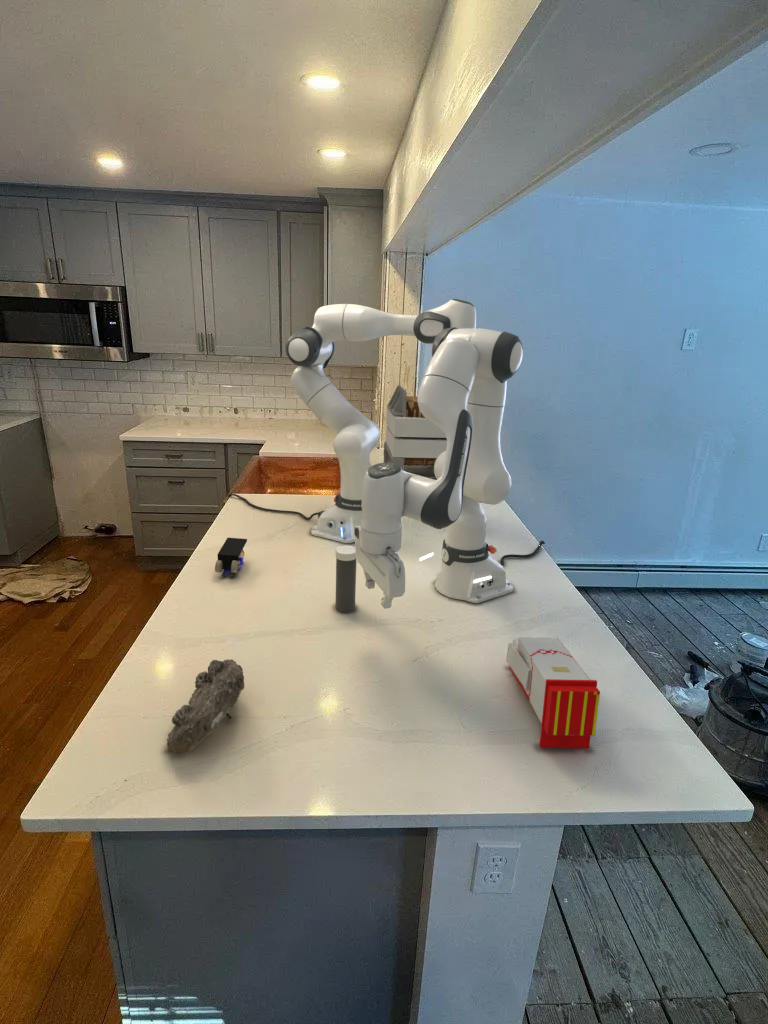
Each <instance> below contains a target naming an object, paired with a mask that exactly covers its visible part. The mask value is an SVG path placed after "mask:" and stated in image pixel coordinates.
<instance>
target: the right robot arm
mask: <svg viewBox="0 0 768 1024" xmlns="http://www.w3.org/2000/svg"><path fill="white" fill-rule="evenodd" d="M523 357H524V346H523V343H522V341H521V339H520V337H519V336H518V335H516V334H515V333H512V332H508V331H503V332H502V331H498V330H495V329H489V328H481V327H479V328H475V329H471V328H464V329H458V328H456V327H454V328H446V329H443V330H442V331H441V332H440V333H439V334H438V335H437V336H436V337H435V339H434V342H433V344H432V346H431V359H430V362H429V364H428V365H427V368H426V370H425V372H424V375H423V378H422V380H421V383H420V385H419V388H418V392H417V396H418V398H417V402H418V406H419V409H420V411H421V413H422V414H423V416H424V417H425V418H426V419H427V420H428V421H429V422H431V423H432V424H433V425H435V426H436V427H437V428H439V429H440V430H442V431H443V432H444V433H445V435H446V437H447V448H446V451H445V452H443V453H441V454H440V455H439V456H438V458H437V460H436V462H435V465H434V466H433V473H434V476H435V478H436V479H434V478H430V477H427V476H422V475H420V474H416V473H412V472H409V471H405V470H404V469H403V470H402V468H401V467H400V466H399V465H397V464H394V463H384V462H380V463H376V464H373V465H371V467H370V468H369V469H368V470H367V472H366V475H365V478H364V483H363V490H362V511H363V519H362V521H361V525H359V526H354V535H355V536H356V538H355V542H354V547H355V553H356V563H358V564H359V565H360V566H361V567H362V569H363V574H364V578H365V587H366V588H367V589H368V590H370V589H375V587H376V585H377V586H378V587H379V588H380V589H381V591H382V593H383V597H382V598H381V602H380V605H381V606H382V608H383V609H391V608H392V603H393V602H392V601H393V599H394V598H399V597H403V596H404V595H405V592H406V567H405V563H404V562H403V560H402V559H401V558H400V556H399V554H398V553H397V552H399V551H400V550H401V548H402V538H403V537H402V535H403V533H402V532H403V522H402V518H407V519H411V520H414V521H417V522H420V523H422V524H425V525H427V526H429V527H430V528H434V529H436V530H443V529H445V530H444V535H445V536H444V539H443V541H442V546H441V547H442V548H441V563H440V564H441V565H440V569H439V573H438V576H437V579H436V581H435V584H434V588H435V590H436V591H437V592H438V593H440V594H441V595H443V596H445V597H448V598H449V599H455V600H461V601H465V602H468V603H472V604H480V603H482V602H486V601H489V600H492V599H494V598H498V597H501V596H504V595H507V594H510V593H512V592H513V593H514V586H513V584H512V583H511V581H510V580H509V579H508V578H507V574H506V570H505V567H504V563H505V559H509V558H519V559H523V558H525V559H526V558H527V559H528V558H532V557H534V556H535V555H536V554H537V553H538V551H540V549H541V547H542V546H543V545H545V544H546V542H545V541H544V540H540V541H539V543H538V545H537V547H536V548H535V549H534V551H532V552H530V553H528V554H515V553H513V554H510V553H509V554H505V555H502V557H500V561H498V560H496V559H495V558H494V557H492V556H491V555H495V554H496V552H497V547H495V546H494V545H492V544H491V545H490V544H489V543H488V542H486V533H487V524H488V519H487V515H486V512H485V511H484V509H483V507H482V506H481V504H483V505H484V504H485V505H490V506H492V505H493V506H495V505H498V504H501V503H502V502H503V501H505V499H507V497H508V496H509V495H510V492H511V489H512V485H513V484H512V483H513V482H512V477H511V475H510V473H509V471H508V470H507V468H506V465H505V462H504V459H503V454H502V447H501V430H502V425H503V424H502V423H503V417H504V411H505V405H506V398H507V397H506V396H507V382H508V381H507V380H509V379H511V378H512V377H514V375H516V374H517V372H518V371H519V370H520V367H521V365H522V361H523ZM539 545H540V546H539ZM489 553H490V554H491V555H490V554H489ZM433 556H434V552H431V553H428V554H426V555H424V556H421V557H420V558H419V562H421V561H423V560H426V559H428V558H430V557H433Z"/></svg>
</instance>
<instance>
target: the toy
mask: <svg viewBox="0 0 768 1024" xmlns="http://www.w3.org/2000/svg"><path fill="white" fill-rule="evenodd" d="M505 659H506V660H505V661H506V663H507V664H508V666H509V667H508V669H510V671H511V673H512V674H513V676H514V678H515V680H516V681H517V683H518V685H519V686H520V688H521V689H522V691H523V693H524V694H525V696H526V698H527V700H529V703H530V705H531V707H532V708H533V711H534V712H535V715H536V716H537V718H538V720H539V722H540V725H541V726H540V736H539V744H538V746H539V748H540V749H590V746H591V736H592V737H595V735H596V731H597V730H596V729H597V722H598V721H597V720H598V714H599V713H598V712H599V703H600V697H601V691H600V690H599V688H598V680H596V679H591V678H590V677H589V675H588V674H587V673H586V672H585V670H584V669H583V668H582V667H581V665H580V664H579V663H578V661H577V660H576V659H575V657H574V656H573V655H572V653H570V650H569V649H568V648H567V647H566V645H564V643H563V642H562V641H561V639H560V638H559V637H548V636H547V637H546V636H545V637H543V636H518V638H517V637H515V638H512V643H511V642H508V646H507V653H506V658H505Z"/></svg>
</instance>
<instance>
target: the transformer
mask: <svg viewBox="0 0 768 1024" xmlns="http://www.w3.org/2000/svg"><path fill="white" fill-rule="evenodd" d="M407 394H408V393H407V390H406V389H404V388H403V387H402V385H399V384H398V385H397V386H396V388H395V390H394V392H393V394H392V395H391V398H390V400H389V402H388V404H387V405H386V413H385V414H386V415H385V423H386V428H385V438H384V442H383V463H394V464H397V465H399V466H400V467H401V468H402V470H403V471H404V469H405V466H406V467H407V466H411V467H412V466H413V467H415V466H416V467H417V466H418V467H434V465H435V462H436V460H437V458H438V456H439V455H440V454H441V453H443V452H445V451H446V448H447V437H446V435H445V433H444V432H443V431H442V430H440V429H439V428H437V427H436V426H435V425H433V424H432V423H431V422H429V421H428V420H427V419H426V418H425V417H424V416H423V414H422V413H421V411H420V409H419V406H418V402H417V398H418V395H417V396H415V395H414V396H413V395H412V396H411V395H407Z"/></svg>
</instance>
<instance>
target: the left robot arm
mask: <svg viewBox="0 0 768 1024" xmlns="http://www.w3.org/2000/svg"><path fill="white" fill-rule="evenodd" d="M454 327H456V328H458V329H464V328H471V329H477V328H476V327H477V309H476V306H475V305H474V304H473V303H472V302H470V301H467V300H463V299H458V298H451V299H450V300H448V301H447V302H445V303H444V304H441V305H439V306H437V307H435V308H431V309H427V310H424V311H422V312H421V313H419V314H399V313H391V312H386V311H383V310H380V309H377V308H374V307H370V306H366V305H361V304H355V303H335V304H327V305H322V306H320V307H318V308H317V309H316V311H315V313H314V317H313V325H312V326H310V325H306V326H305V327H303V328H301V329H299V330H298V331H295V333H293V334H292V335H291V336H290V337H289V338H288V339H287V340H286V344H285V354H286V357H287V359H289V361H290V362H292V364H294V365H296V366H297V367H295V369H294V370H293V371H292V373H291V375H290V380H291V381H290V383H291V384H292V386H293V388H294V390H295V391H296V393H297V395H298V396H299V397H300V399H301V400H302V401H303V403H304V404H305V405H306V407H307V408H308V409H309V410H310V411H311V412H312V413H313V415H314V416H315V417H316V418H317V419H318V420H319V422H320V423H321V424H323V425H324V426H326V427H328V428H330V429H331V430H332V431H334V432H335V433H336V436H335V438H334V439H333V443H332V446H333V448H332V449H333V451H334V454H335V455H336V457H337V462H338V466H339V473H340V488H339V489H340V490H339V491H338V492H337V494H336V495H335V496H334V497H333V502H334V504H333V505H331V506H329V507H328V508H326V509H323V510H321V511H317V512H313V513H311V515H310V516H309V517H308V516H307V517H306V516H305V515H304V514H303V513H302V512H299V511H294V510H283V509H281V510H280V509H273V508H266V507H262V506H258V505H256V504H253V503H251V502H250V501H248V499H246V498H245V497H242V495H240V494H239V495H238V494H237V493H229V494H228V495H227V496H226V497H227V498H230V497H233V496H234V497H236V498H239V499H240V500H242V501H244V502H245V503H246V504H247V505H249V506H251V507H253V508H255V509H258V510H262V511H267V512H273V513H282V514H283V513H285V514H295V515H299V516H301V518H303V519H304V520H307V521H308V520H309V521H310V520H311V519H312V518H313V517H314V516H317V519H318V521H317V523H315V524H314V525H313V526H312V528H311V530H310V533H311V536H315V537H319V538H323V539H326V540H330V541H336V542H339V543H343V544H352V543H355V538H356V536H355V535H354V526H359V525H361V521H362V519H363V511H362V490H363V483H364V478H365V475H366V472H367V470H368V469H369V468H370V467H371V466H372V464H371V460H370V459H371V457H370V455H371V452H372V451H373V450H374V449H376V448H377V446H378V445H379V442H380V439H381V436H382V435H381V429H380V427H379V425H378V424H377V423H376V422H375V421H373V420H371V419H369V418H368V417H366V415H364V414H363V413H362V412H361V411H360V410H358V409H357V408H356V407H355V406H353V404H352V403H350V402H349V400H347V399H346V398H345V397H344V396H343V394H342V393H341V392H340V391H339V389H338V388H337V387H336V386H335V385H334V384H333V382H332V381H331V380H330V379H329V378H328V377H327V376H326V374H325V372H324V369H326V368H327V366H328V365H329V362H330V360H331V359H332V357H333V356H334V352H335V350H336V343H335V342H353V343H356V342H366V341H371V340H376V339H378V338H384V337H388V336H409V337H415V338H416V339H417V340H418V341H420V343H423V344H426V345H433V342H434V339H435V337H436V336H437V335H438V334H439V333H440V332H441V331H442V330H443V329H446V328H454Z"/></svg>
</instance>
